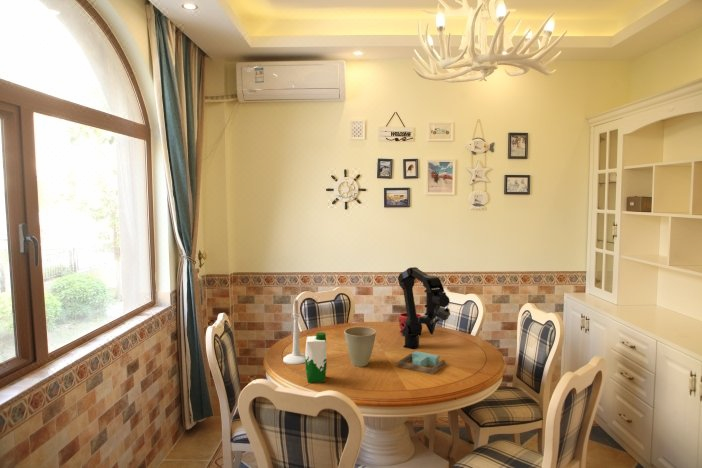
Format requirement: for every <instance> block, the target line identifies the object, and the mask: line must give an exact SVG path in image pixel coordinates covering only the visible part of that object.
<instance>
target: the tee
mask: <svg viewBox="0 0 702 468" xmlns="http://www.w3.org/2000/svg"><path fill="white" fill-rule="evenodd" d="M411 354H412V359H411V361H412V364H413V365H418V366H423V367H427V366H431V367H434V366H435V365H436V364H438V363H439V362H440V355H437V354H432V353H427V352H422V351H419V350H418V351H417V350H416V351H415V350H414V352H411Z"/></svg>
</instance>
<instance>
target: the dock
mask: <svg viewBox="0 0 702 468" xmlns="http://www.w3.org/2000/svg"><path fill="white" fill-rule="evenodd" d="M410 361H412V353H409V354H408V355H406V356H405V357H403V358H401V359H400V360H398V361H396V367H397V368H398V367H399V368H403V369H405V370H406V369H407V370H412V371H416V372H420V373H425V374H430V375H434V374H435V373H437V372H438V371H439V370H441V369H442V368H444V366H445V365H446V360H444V359H441V361H440V360H439V363H438V364H436V365H435V366H431V367H427V366H425V367H423V366H418V365H413V363H408V362H410Z"/></svg>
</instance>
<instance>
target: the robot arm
mask: <svg viewBox="0 0 702 468" xmlns="http://www.w3.org/2000/svg"><path fill="white" fill-rule="evenodd" d="M397 280H398V285H399V287H400V288H401V289H402V292H403V296H404V304H405V311H406V312H405V313H407V319H406V322H405V328H404V329H403V330H402V334H403V335H404V336H403V335H402V336H403V337H404V345H403V348H406V349H407V348H408V349H413V350H415V349H417V348H418V347H420V338H419V336H421V335H422V331H423V324H424V325H425V326H426V327H427V330H428V332H429V334H430V335H434V332H435V329H436V325H437V323H439V322H440V321H441V320H442V321H447V320H448V319H449V317H450V316H451V312H450V311H451V310H450V308H448V306H449V304H450V298H449V296H448V295H447V292H446V291H445V288H444V286H443V284H442V281H441V279H440V277H438V276H436V275H429V274H427V273H426V272H424V271H423V270H420V269H419V267H416V266H415V267H408V268H407V269H406V270H404V271H402V272H401V273H399V275H398V276H397ZM416 280H418V281H419V282H420V283H422V286H423V287H424V288H425V290H423V291H424V293H425V294H426V297H425V298H426V299H425V300H426V301H425V302H426V304H424V308H425V312H424V315H422V317H420V318H418V317H417V315H416V313H417V310H416V304H415V297H414V291H413V288H414V286H415V281H416ZM441 307H442V308H441Z"/></svg>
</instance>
